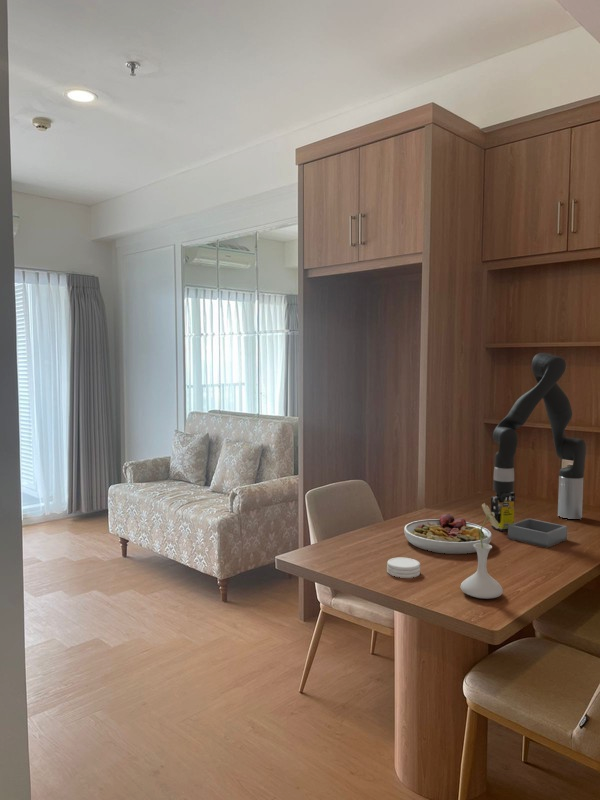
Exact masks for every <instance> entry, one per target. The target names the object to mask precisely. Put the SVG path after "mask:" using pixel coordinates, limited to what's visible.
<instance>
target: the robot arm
mask: <svg viewBox="0 0 600 800" xmlns="http://www.w3.org/2000/svg"><path fill="white" fill-rule="evenodd" d="M566 368H567V363H566V361H565V359H564V358H563V357H561V356H557V355H555V354H551V353H547V352H539V353H537V354H535V355H534V356H533V358H532V362H531V371H532V373H533V376H534V378H535V381H536V382H537V384H536V385H535V386H534V387H532V388H530V390H528V391H527V392H525V393H524V394H522V395H521V396H519V398H518V399H517V400H516V401H515V402H514V404H513V405H512V407H511V408H510V410H509V412H508V413H507V414H506V416H505V417H504V418H503V419H502V420H501V421H500V422H499V423H498V424H497V426H496V427H495V428H494V430H493V433H492V439H493V441H494V442H495V443H496V444H498V445H499V446H498V451H497V452H496V453H494V469H493V488H492V489H493V491H495V496H491V497H490V511H491V512H494V514H495V515H494V518H495V519H496V521H497V522H498V523H500V522H501V514H500V513H501V508H502V507H501V505H498V502H503V503H504V502H506V501H513V502H514V508H515V507H516V492H515V455H516V451H517V446H518V433H517V432H516V430H517V429H518V428H519V427H522V426H524V425H525V423H526V422H527V421H528V419H529V417H531V414H532V413H533V411H535V408H536V407H537V406H538V405H539V402H541V400H543V403H544V407H545V411H546V415H547V417H548V421H549V422H548V423H549V424H550V429H551V431H552V439H553V444H554V449H555V453H556V456H557V457H558V458H559V459H561V460H566V461H573V462H572V465H570V466H566V467H562V468H560V469H559V472H558V494H557V495H558V499H557V500H558V501H557V517H558V516H560V517H563V518H568V519H580V520H582V519H583V503H584V502H583V500H584V498H583V497H584V474H585V473H584V472H585V467H586V466H585V465H586V464H585V463H586V462H585V461H586V456H587V455H586V453H587V445H586V441H585V440H584V439H582V438H574V437H567V436H566V434H565V430H566V428H567V426H568V425H569V424H570V421H571V420H572V417H573V410H572V406H571V401H570V399H569V397H568V396H567V394H566V393H565V392H564V390H563V389H562V388H561V387H560V386H559V384H558V382H559V380H560V379H561V378H562V377H563V375H564V374H565V371H566ZM494 506H495V508H494ZM498 508H499V510H498ZM581 518H582V519H581Z"/></svg>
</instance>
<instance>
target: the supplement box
mask: <svg viewBox="0 0 600 800" xmlns="http://www.w3.org/2000/svg"><path fill="white" fill-rule="evenodd" d="M498 505H501V507H502V508H501V513H500V514H501V522H500V523H498V524H497V525H498V526H499V528H498V529H496V528H495V527H494V526H493V525H492V524H491V528H493V529H495V530H498V531H501V532H505V531H508V525H510V524H513V523H515V507H514V502H513V501H506V502H504V503H503V502H498ZM494 508H495V506H494ZM498 510H499V508H498ZM492 513H493V514H494V512H492ZM494 515H495V514H494Z"/></svg>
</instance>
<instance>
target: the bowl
mask: <svg viewBox="0 0 600 800" xmlns="http://www.w3.org/2000/svg"><path fill="white" fill-rule="evenodd" d="M481 527H482V525H479V524H476V523H473V522H472V523H471V522H467V521H466V519H464V518H463V517H458V518H457V519H455V518H454V516H453V515H452V514H450V513H445V514H442V515H440V518H438V519H437V518H436V519H435V518H434V519H432V518H431V519H420V520H416V521H415V520H414V521H412V522H409V523H407V524H405V526H404V529H403V530H404V531H403V532H404V535H405V538H406V540H407V541H408V542H409V543H410V544H411V545H413V546H414V547H417V548H419V549H421V550H424V551H427V550H428V552H431V551H432V552H431V553H438V554H444V553H445V554H447V555H465V554H466V555H467V553H468V554H473V553H477V551H476V549H475V547H474V546H473V545H474V544H476V543H481V540H480V539H481V537H480V531H479V529H480V530H481ZM482 535H483V537H482V538H484V537H485V536H486V535H487V536H488V538H486V539H484V540H482V543H485V544H489V545H490V543H491V540H492V532H491V531H490V530H489V529H488V528H486V527H484V526H483V528H482Z"/></svg>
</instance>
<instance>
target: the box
mask: <svg viewBox="0 0 600 800" xmlns="http://www.w3.org/2000/svg"><path fill="white" fill-rule="evenodd" d="M507 539H509V540H512V539H513V541H516V540H517V542H520V541H521V543H524V542H526V543H525V544H528V543H529V545H533V546H537V547H541V548H545V547H546V549H549V548H551V547H553V545H554V546H555V544H556V545H558V544H561V543H563V542H565V541H568V526H567V525H563V524H557V523H553V522H548V521H543V520H539V519H533V518H530V517H529V518H528V517H527V518H525V519H522V520H519V521H516V522H514V523H513V524H510V525H508V530H507ZM564 540H565V541H564ZM562 541H563V542H562ZM560 542H561V543H560ZM557 543H558V544H557ZM548 547H549V548H548Z"/></svg>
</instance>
